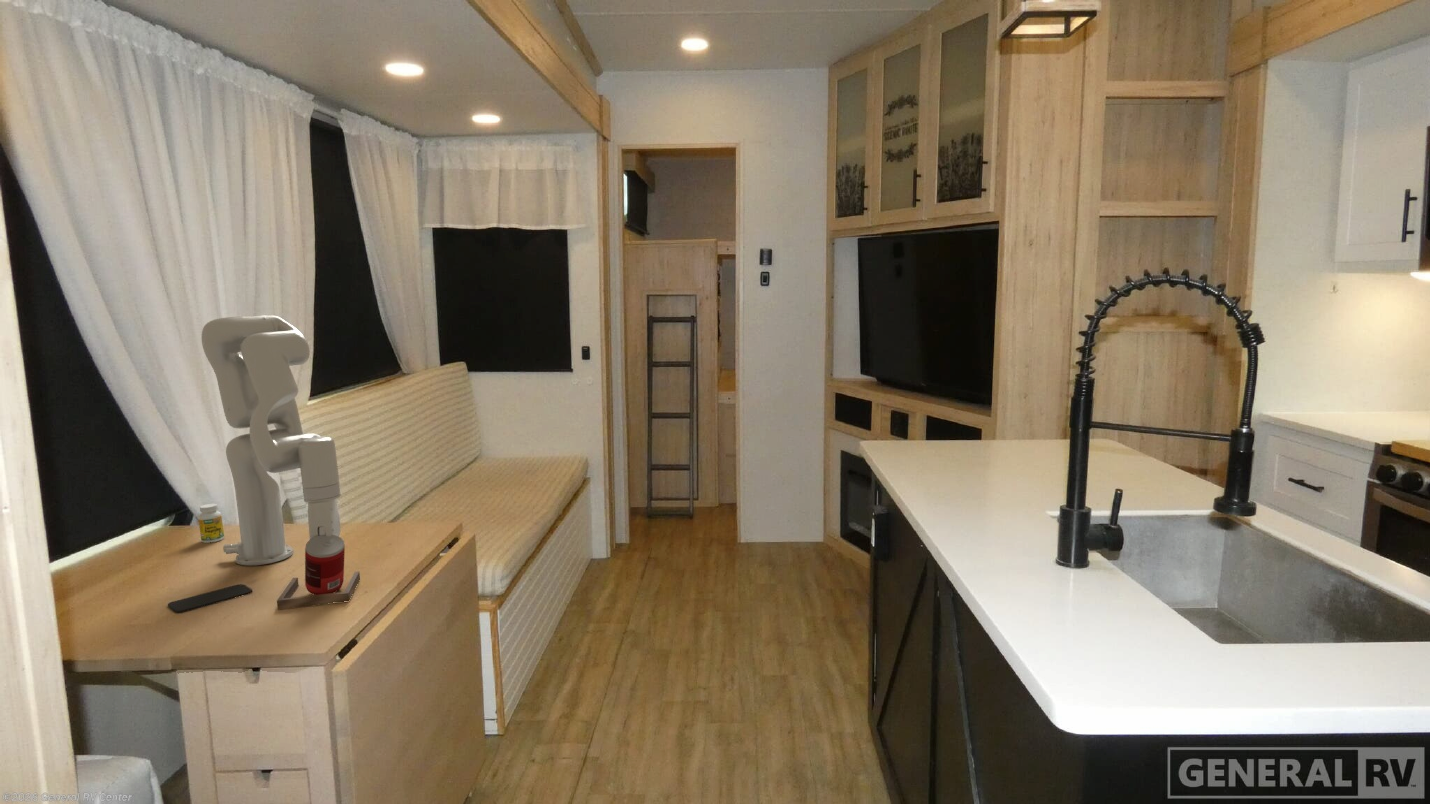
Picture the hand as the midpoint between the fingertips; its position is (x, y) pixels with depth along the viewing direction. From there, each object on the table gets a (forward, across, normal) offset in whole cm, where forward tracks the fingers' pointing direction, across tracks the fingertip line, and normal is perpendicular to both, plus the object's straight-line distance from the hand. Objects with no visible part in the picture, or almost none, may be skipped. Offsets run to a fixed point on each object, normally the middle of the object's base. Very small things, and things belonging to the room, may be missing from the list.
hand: (331, 570), depth 186 cm
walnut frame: (+3, +7, -1) cm, 8 cm away
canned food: (+2, +5, -1) cm, 5 cm away
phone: (+3, +2, -24) cm, 25 cm away
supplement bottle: (+1, -44, -38) cm, 58 cm away
